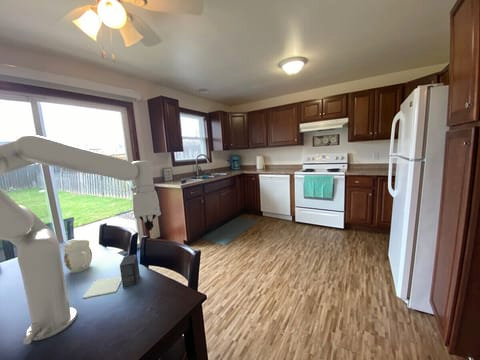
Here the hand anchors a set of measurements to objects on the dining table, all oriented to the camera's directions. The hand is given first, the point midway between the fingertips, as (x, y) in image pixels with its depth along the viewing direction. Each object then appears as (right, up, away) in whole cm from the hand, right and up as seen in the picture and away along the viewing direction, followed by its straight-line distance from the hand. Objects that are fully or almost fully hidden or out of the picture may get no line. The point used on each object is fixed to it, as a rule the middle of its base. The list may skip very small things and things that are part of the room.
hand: (149, 229), depth 91 cm
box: (-8, -24, 0) cm, 25 cm away
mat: (-18, -24, -2) cm, 30 cm away
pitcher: (-40, -24, +13) cm, 48 cm away
